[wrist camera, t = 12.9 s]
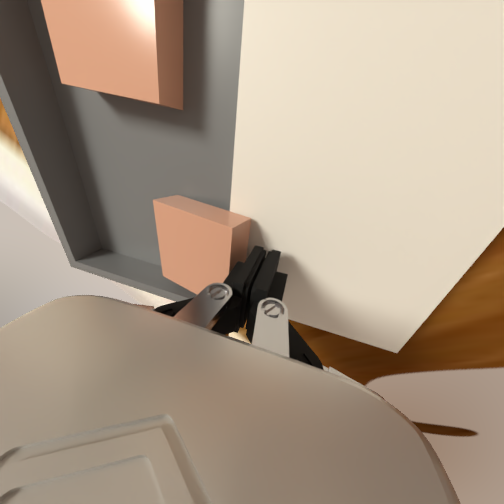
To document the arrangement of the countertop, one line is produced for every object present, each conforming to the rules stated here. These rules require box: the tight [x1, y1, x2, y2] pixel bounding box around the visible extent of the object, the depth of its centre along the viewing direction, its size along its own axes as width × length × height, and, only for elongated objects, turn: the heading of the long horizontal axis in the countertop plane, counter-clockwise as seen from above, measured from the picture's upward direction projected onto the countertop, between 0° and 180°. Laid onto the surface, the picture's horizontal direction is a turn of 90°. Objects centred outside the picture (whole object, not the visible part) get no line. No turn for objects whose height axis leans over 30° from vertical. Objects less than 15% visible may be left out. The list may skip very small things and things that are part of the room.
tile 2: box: [153, 195, 251, 295], centre depth 13 cm, size 6×6×2 cm
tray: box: [0, 0, 244, 302], centre depth 13 cm, size 21×14×4 cm
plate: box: [230, 0, 504, 353], centre depth 11 cm, size 20×13×2 cm, turn 172°
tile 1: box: [41, 0, 183, 110], centre depth 9 cm, size 6×6×2 cm
